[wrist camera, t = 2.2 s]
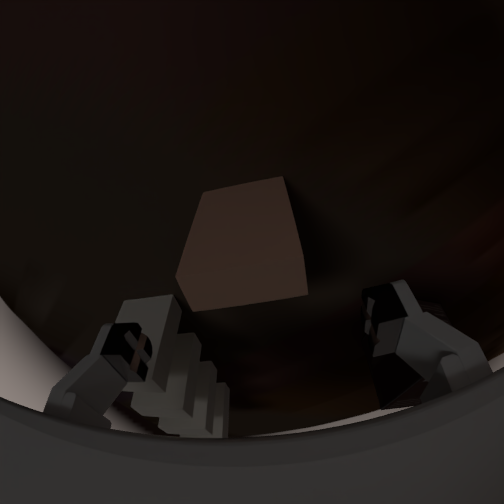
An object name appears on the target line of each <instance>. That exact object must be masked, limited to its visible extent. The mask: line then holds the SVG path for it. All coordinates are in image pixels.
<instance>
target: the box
mask: <svg viewBox="0 0 504 504" xmlns="http://www.w3.org/2000/svg"><path fill="white" fill-rule="evenodd" d="M417 302H418V304H419V306H420V308H421V310H422V311H423V313H424V312H428V313H430V314H432V315H433V316H435V317H437V318H438V319H440V320H442V321H443V322H445V323H447V324H448V325H450V326H452V324H451V322H450V320H449V319H448V317H447V315H446V313H445V311H444V310H443V308H442V306H441V304H438V303H432V302H427V301H422V300H417ZM452 327H453V326H452ZM368 337H369V335H368V334H366V336H365V337H364V338H363V339H362V344H363V347H364V351H365V354H366V357H367V361H368V364H369V367H370V371H371V374H372V377H373V381H374V385H375V389H376V393H377V396H378V399H379V403H380V409H381V410H385V409H393V408H402V407H409V406H416V405H419V404H422V402H421V399H420V396H421V395H422V393H423V391H424V390H425V388H426V386H427V385H428V383H429V382H428V381H427V380H425V379H424V378H423V377H422V376H421V375H420V374H419V373H417V372H416V371H415V370H414V369H413V368H412V367H411V366H410V365H408V364H407V363H406V362H405V361H404V360H403V359H402V358H400V357H399V356H398V355H397V354H396V352H393V353H389V354H385V355H381V356H376V357H373V356H372V353H371V350H370V347H369V344H368Z"/></svg>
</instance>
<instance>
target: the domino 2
mask: <svg viewBox="0 0 504 504" xmlns="http://www.w3.org/2000/svg"><path fill="white" fill-rule="evenodd" d="M201 346H202V345H201V343H200V341H199V339H198V338H197V336H196V334H195V333H183V334H177V337H176V341H175V346H174V351H173V356H172V361H171V366H170V371H169V376H168V382H167V387H166V393H155V392H134V394H133V398H132V403H131V407H132V408H133V409H134V410H136V411H137V412H138V413H140V414H141V415H142V416H154V417H170V418H193V410H194V401H195V393H196V385H197V377H198V369H199V361H200V354H201Z"/></svg>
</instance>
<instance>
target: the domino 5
mask: <svg viewBox="0 0 504 504" xmlns="http://www.w3.org/2000/svg"><path fill="white" fill-rule="evenodd" d="M176 279H177V281H178V284H179V286H180V287H181V289H182V291H183V293H184V295H185V297H186V299H187V301H188V303H189V305H190V307H191V309H192V311H193V312H194V311H202V310H210V309H218V308H225V307H233V306H240V305H247V304H253V303H260V302H266V301H273V300H279V299H285V298H291V297H297V296H303V295H308V289H307V280H306V272H305V264H304V257H303V252H302V248H301V244H300V240H299V236H298V232H297V228H296V224H295V220H294V216H293V212H292V208H291V205H290V201H289V197H288V193H287V190H286V186H285V182H284V179H283V176H282V177H276V178H271V179H265V180H260V181H255V182H250V183H245V184H240V185H235V186H230V187H226V188H221V189H217V190H212V191H208V192H203V195H202V198H201V200H200V203H199V206H198V209H197V212H196V215H195V218H194V221H193V224H192V227H191V230H190V233H189V236H188V239H187V242H186V245H185V248H184V251H183V254H182V257H181V261H180V264H179V267H178V270H177V274H176Z"/></svg>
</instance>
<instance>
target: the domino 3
mask: <svg viewBox="0 0 504 504" xmlns="http://www.w3.org/2000/svg"><path fill="white" fill-rule="evenodd" d="M216 380H217V369H216V367H215V366H214V364H213V362H212V361H202V362H199V369H198V377H197V385H196V393H195V401H194V410H193V418H170V417H160V418H159V425H158V427H159V428H160V429H162V430H163V431H165V432H166V433H169V434H187V435H213V420H214V406H215V393H216Z"/></svg>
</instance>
